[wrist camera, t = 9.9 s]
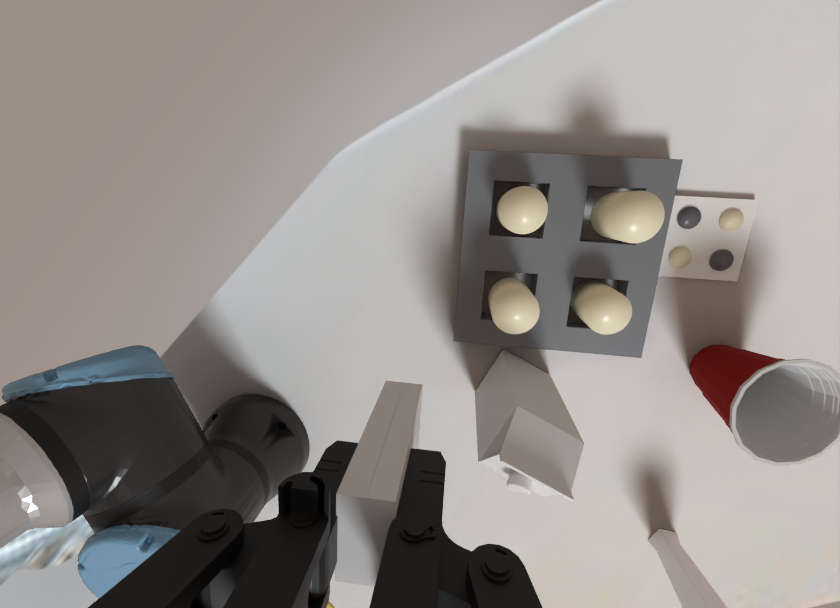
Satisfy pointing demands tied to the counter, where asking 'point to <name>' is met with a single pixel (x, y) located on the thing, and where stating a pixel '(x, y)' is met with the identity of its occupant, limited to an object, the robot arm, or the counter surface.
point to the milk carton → (526, 429)
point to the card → (707, 237)
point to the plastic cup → (771, 402)
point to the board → (560, 248)
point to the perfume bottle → (684, 573)
